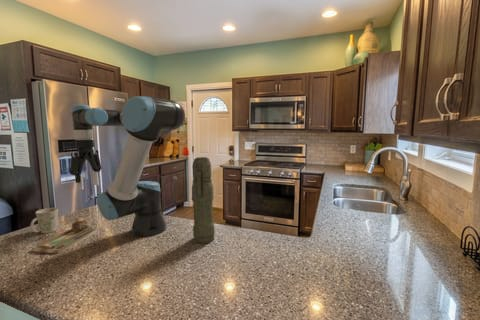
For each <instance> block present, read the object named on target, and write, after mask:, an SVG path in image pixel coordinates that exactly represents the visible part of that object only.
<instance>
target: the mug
mask: <svg viewBox="0 0 480 320" xmlns="http://www.w3.org/2000/svg"><path fill="white" fill-rule="evenodd" d="M58 217H59V208H58V207H46V208H42V209H38V210H37V211H35V218H33V219H32V220H31V222H30V225H29V226H30V227H29V228H30V231H31V232H33V233H39V232H41V234H49V233H53V232H56V231H57V230H58V222H59V220H58V219H59V218H58ZM36 222H37V223H38V226H39V229H35V227H34V224H35V223H36Z"/></svg>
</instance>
